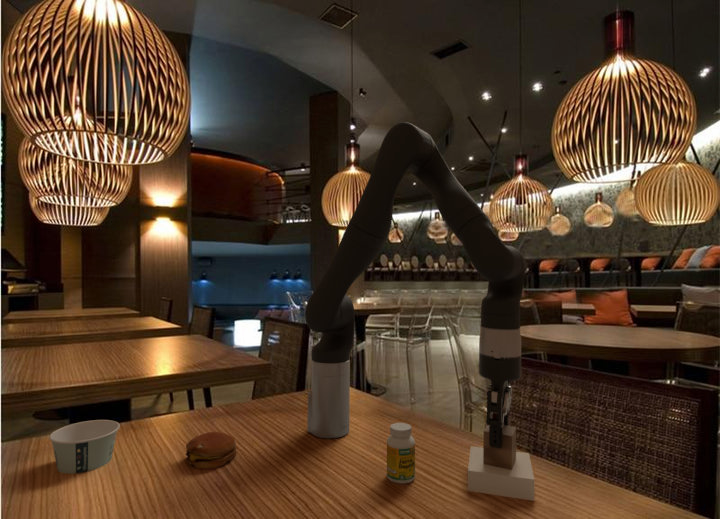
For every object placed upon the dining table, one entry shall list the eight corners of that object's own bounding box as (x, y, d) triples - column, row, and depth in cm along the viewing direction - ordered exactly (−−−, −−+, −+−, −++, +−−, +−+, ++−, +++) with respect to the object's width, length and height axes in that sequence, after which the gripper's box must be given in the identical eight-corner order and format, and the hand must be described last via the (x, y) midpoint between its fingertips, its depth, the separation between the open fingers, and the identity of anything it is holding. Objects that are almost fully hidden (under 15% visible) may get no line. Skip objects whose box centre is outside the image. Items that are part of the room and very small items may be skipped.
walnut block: (483, 463, 80) (483, 430, 80) (488, 453, 84) (489, 422, 84) (511, 470, 77) (512, 436, 77) (515, 459, 82) (516, 427, 82)
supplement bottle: (402, 468, 85) (403, 419, 85) (421, 479, 81) (421, 427, 81) (380, 475, 82) (381, 424, 82) (398, 487, 78) (398, 433, 78)
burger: (239, 449, 94) (239, 427, 94) (230, 469, 85) (231, 445, 85) (192, 450, 93) (193, 428, 93) (178, 471, 84) (178, 447, 84)
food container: (124, 465, 86) (124, 432, 86) (49, 483, 78) (50, 447, 78) (114, 445, 95) (115, 415, 95) (47, 460, 88) (47, 427, 88)
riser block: (467, 493, 77) (467, 470, 77) (470, 466, 87) (470, 446, 88) (534, 503, 74) (534, 479, 74) (529, 474, 84) (528, 453, 84)
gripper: (485, 343, 89) (484, 422, 89) (472, 356, 76) (471, 449, 76) (524, 347, 86) (523, 429, 86) (517, 360, 73) (516, 457, 73)
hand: (499, 438), depth 81 cm, fingers open, 8 cm apart
